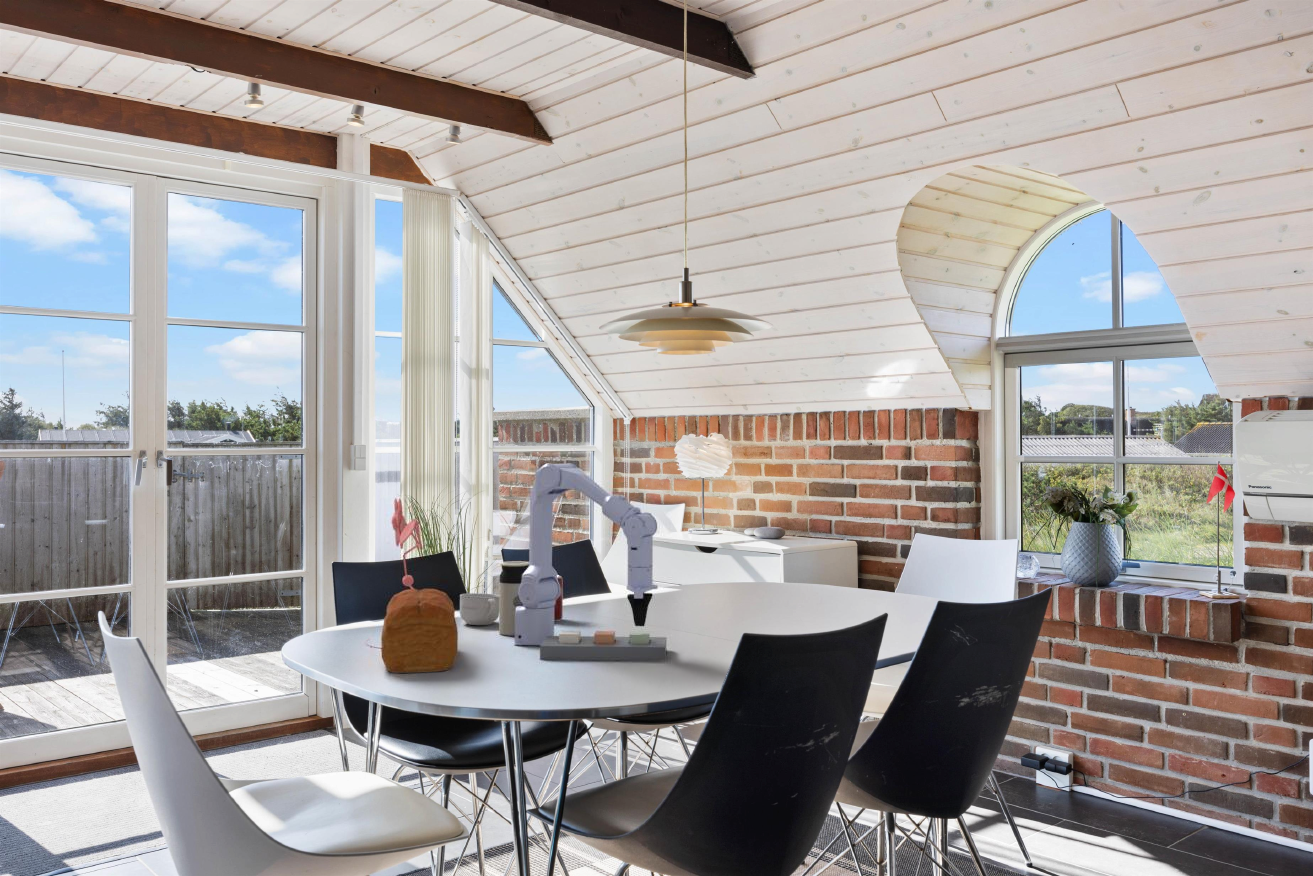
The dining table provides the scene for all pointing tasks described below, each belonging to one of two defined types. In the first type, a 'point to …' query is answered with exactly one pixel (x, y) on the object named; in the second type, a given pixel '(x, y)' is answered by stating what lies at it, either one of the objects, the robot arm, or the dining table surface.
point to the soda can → (559, 602)
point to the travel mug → (509, 594)
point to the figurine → (404, 537)
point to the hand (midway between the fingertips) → (639, 625)
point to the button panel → (603, 649)
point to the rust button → (604, 637)
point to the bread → (419, 632)
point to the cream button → (570, 637)
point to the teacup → (479, 608)
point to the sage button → (640, 637)
